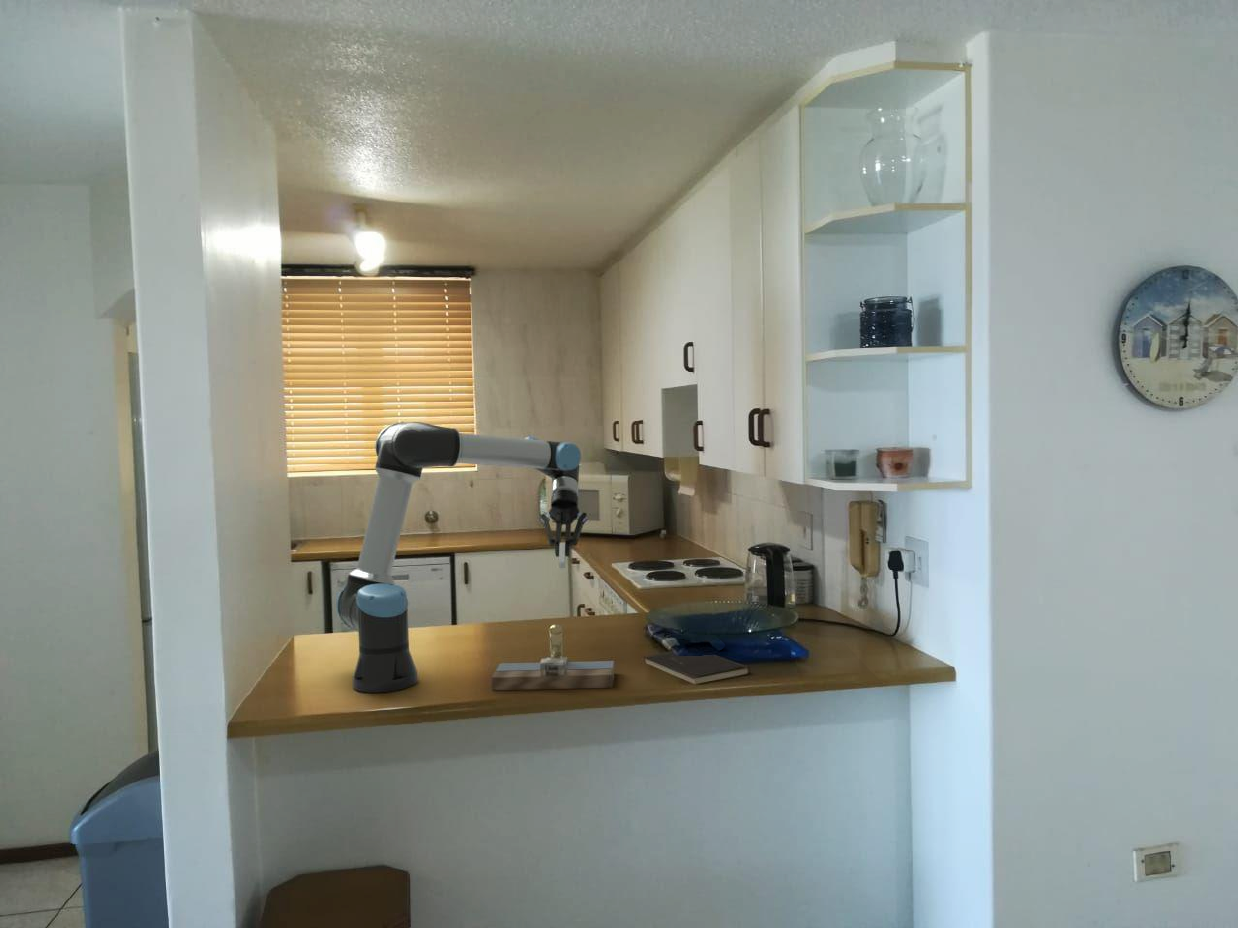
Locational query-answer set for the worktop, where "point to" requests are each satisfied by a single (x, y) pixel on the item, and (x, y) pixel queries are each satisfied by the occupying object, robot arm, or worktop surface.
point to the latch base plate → (567, 667)
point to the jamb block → (552, 678)
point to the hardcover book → (696, 666)
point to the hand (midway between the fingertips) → (562, 565)
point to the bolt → (555, 643)
